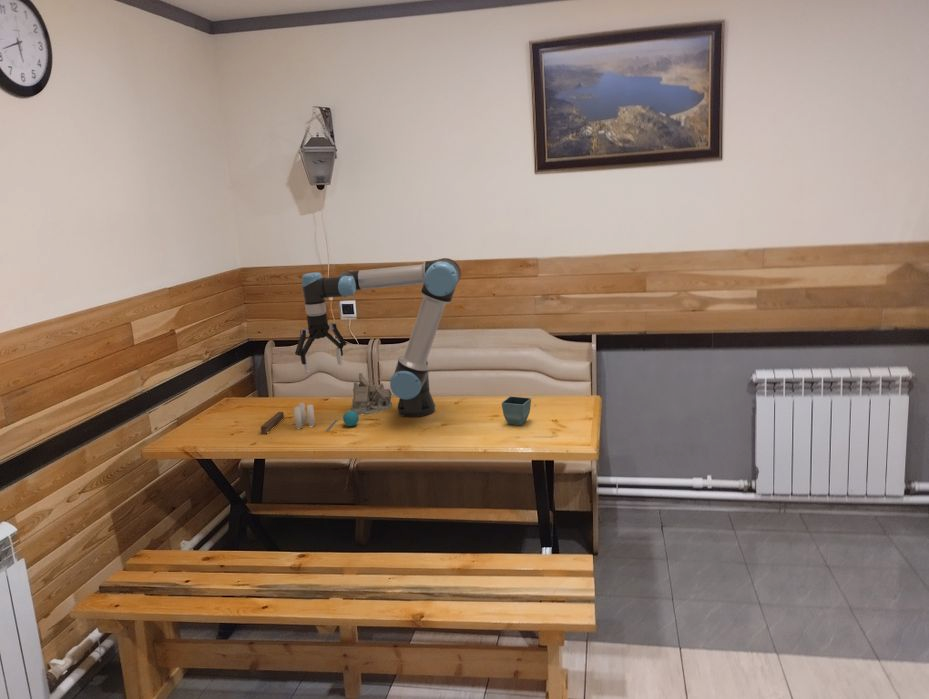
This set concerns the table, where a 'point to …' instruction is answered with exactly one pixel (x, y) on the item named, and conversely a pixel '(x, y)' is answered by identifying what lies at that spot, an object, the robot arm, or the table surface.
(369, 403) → the grey castle model
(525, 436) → the table surface
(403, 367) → the robot arm
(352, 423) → the ball
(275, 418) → the brown wooden bar
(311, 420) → the pin front
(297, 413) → the pin
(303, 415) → the pin
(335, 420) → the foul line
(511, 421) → the flower pot
